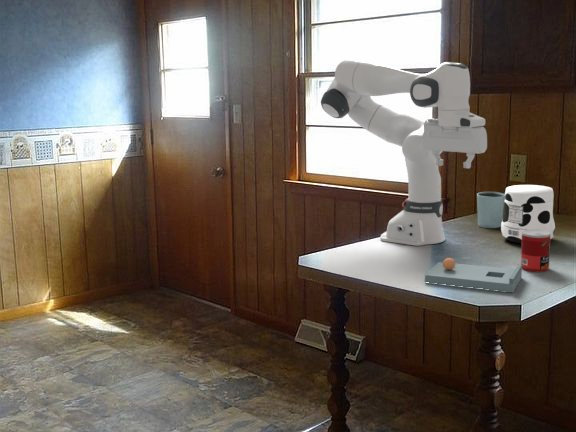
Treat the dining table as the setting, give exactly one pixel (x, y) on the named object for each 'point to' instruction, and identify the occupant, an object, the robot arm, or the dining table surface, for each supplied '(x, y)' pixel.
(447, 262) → the ball
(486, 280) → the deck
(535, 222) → the milk container
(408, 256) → the dining table surface
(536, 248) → the canned food
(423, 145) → the robot arm
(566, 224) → the dining table surface
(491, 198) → the pale blue cup
